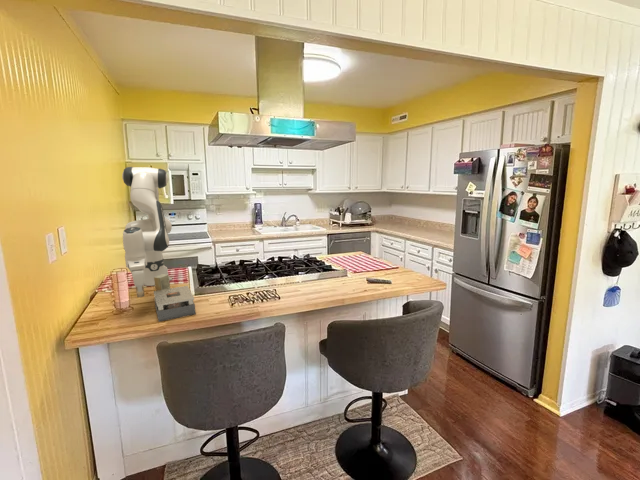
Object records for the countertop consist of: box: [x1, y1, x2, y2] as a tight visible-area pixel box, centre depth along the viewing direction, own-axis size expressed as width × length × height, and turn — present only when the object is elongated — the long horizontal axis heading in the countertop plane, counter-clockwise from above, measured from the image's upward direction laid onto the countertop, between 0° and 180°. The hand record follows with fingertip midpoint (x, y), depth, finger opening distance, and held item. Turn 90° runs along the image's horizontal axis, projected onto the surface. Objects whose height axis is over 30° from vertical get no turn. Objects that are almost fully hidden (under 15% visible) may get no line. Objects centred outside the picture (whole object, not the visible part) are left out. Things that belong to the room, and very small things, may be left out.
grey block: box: [135, 285, 146, 298], centre depth 163 cm, size 3×3×6 cm
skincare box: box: [154, 273, 171, 291], centre depth 183 cm, size 6×4×12 cm
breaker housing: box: [153, 285, 197, 323], centre depth 166 cm, size 20×16×8 cm
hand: (140, 290), depth 163 cm, fingers closed on grey block, 3 cm apart
